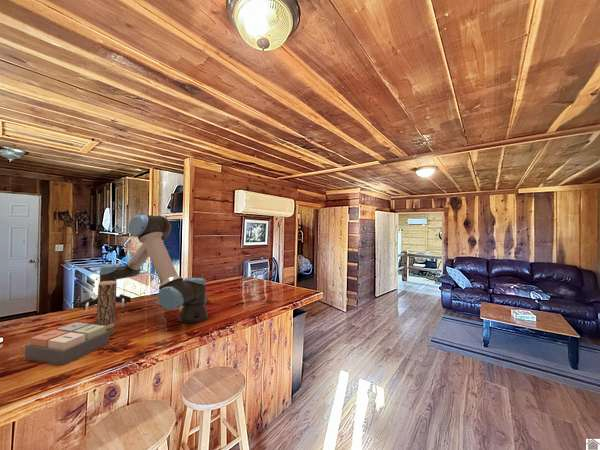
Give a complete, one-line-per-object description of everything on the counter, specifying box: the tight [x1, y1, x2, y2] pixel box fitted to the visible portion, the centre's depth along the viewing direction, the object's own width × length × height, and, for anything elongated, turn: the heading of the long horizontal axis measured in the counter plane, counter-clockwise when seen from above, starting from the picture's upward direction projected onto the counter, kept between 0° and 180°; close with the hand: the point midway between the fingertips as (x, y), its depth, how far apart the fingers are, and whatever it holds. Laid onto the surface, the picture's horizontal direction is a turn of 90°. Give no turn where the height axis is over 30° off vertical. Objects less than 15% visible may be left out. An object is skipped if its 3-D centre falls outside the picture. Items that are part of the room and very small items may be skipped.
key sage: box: [74, 323, 106, 340], centre depth 104 cm, size 8×8×3 cm
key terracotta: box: [29, 329, 68, 348], centre depth 97 cm, size 8×8×3 cm
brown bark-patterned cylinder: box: [95, 280, 118, 337], centre depth 115 cm, size 7×7×25 cm
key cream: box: [48, 332, 85, 351], centre depth 95 cm, size 8×8×3 cm
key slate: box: [56, 321, 91, 333], centre depth 105 cm, size 8×8×3 cm
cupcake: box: [205, 291, 210, 304], centre depth 170 cm, size 9×8×12 cm
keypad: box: [24, 331, 110, 366], centre depth 100 cm, size 18×18×5 cm
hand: (105, 306), depth 115 cm, fingers open, 13 cm apart
